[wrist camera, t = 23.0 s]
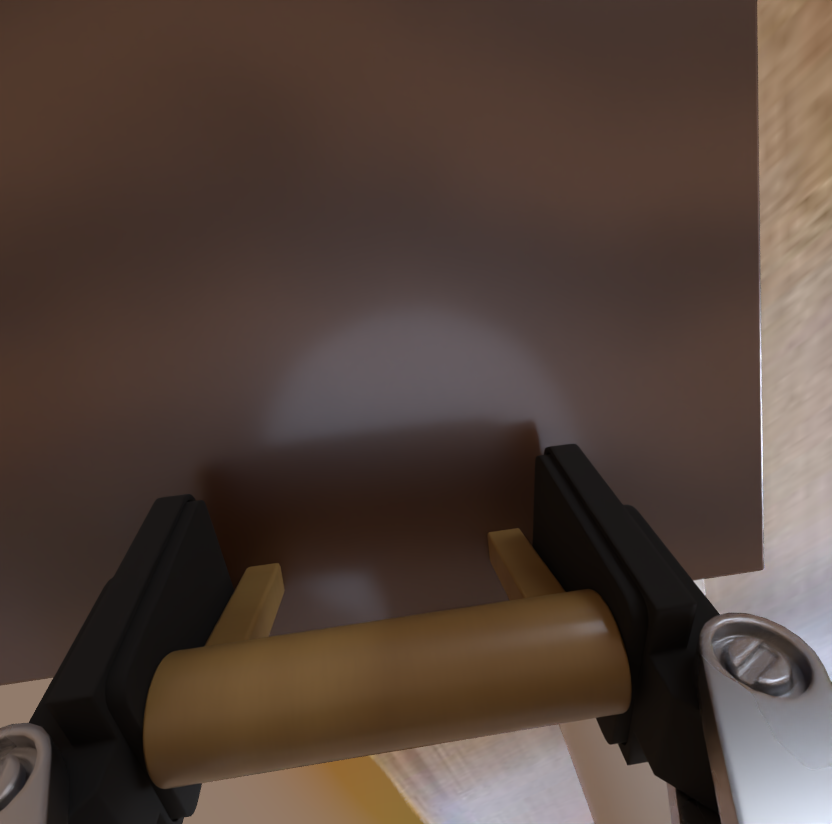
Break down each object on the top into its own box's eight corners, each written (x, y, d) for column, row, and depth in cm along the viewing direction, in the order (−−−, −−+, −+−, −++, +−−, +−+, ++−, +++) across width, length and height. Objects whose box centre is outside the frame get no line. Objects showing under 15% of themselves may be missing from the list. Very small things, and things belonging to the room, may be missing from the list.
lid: (741, 556, 12) (1016, 724, 7) (17, 664, 11) (-294, 953, 6) (725, -205, 10) (1129, -821, 5) (-194, -150, 9) (-1013, -845, 4)
